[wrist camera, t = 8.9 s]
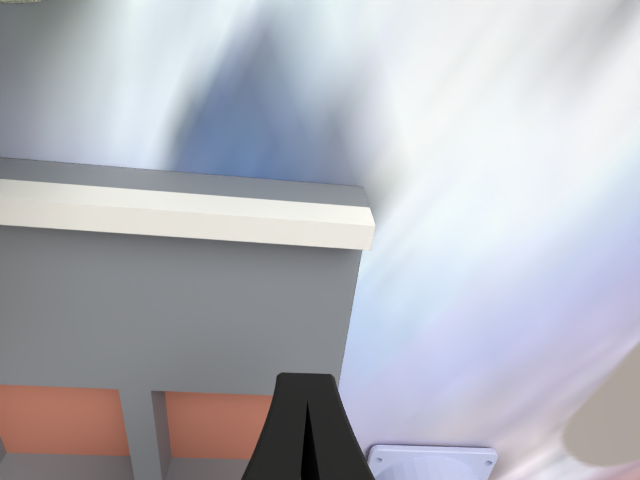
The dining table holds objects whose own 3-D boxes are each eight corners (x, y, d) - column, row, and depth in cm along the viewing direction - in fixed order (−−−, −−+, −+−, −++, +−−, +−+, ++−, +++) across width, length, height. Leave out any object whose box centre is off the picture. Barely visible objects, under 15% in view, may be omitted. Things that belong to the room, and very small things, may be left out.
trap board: (317, 469, 28) (319, 547, 24) (-86, 459, 26) (-155, 542, 22) (363, 186, 18) (380, 240, 14) (-271, 135, 16) (-452, 180, 12)
